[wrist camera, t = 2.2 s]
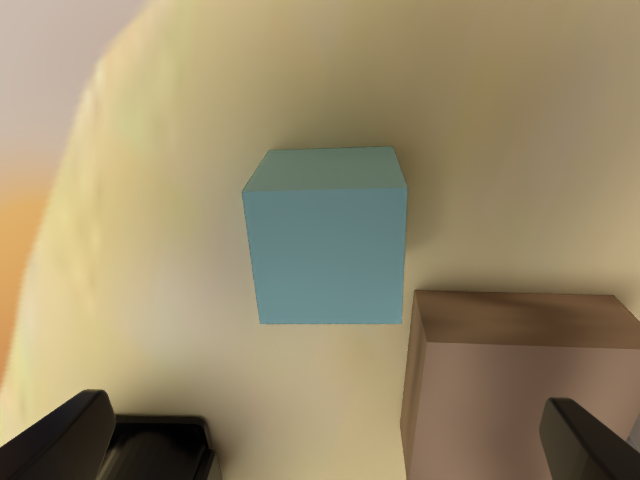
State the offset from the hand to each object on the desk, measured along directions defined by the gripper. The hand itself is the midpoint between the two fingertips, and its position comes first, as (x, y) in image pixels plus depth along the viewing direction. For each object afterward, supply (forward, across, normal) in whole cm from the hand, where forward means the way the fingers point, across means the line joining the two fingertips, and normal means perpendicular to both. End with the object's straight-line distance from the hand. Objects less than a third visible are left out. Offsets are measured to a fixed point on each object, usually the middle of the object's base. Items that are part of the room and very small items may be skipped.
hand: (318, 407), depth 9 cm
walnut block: (+11, -8, +9) cm, 16 cm away
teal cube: (+11, 0, 0) cm, 11 cm away
